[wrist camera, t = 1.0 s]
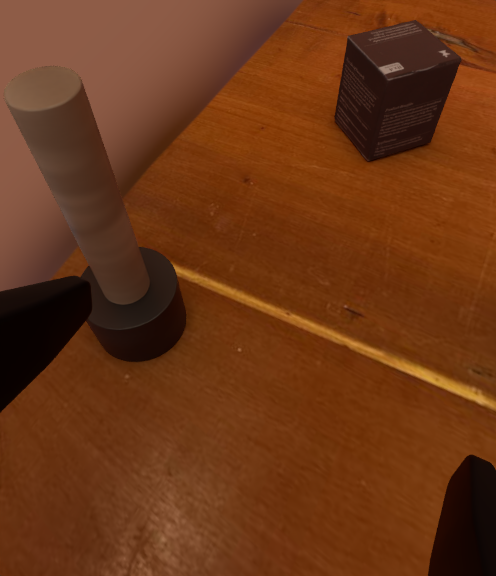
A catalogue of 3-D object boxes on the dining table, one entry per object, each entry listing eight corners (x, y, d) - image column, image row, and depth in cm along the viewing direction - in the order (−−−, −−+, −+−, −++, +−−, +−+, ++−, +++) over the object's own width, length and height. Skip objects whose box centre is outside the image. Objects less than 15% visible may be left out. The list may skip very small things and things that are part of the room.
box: (393, 104, 41) (417, 17, 35) (431, 145, 38) (465, 58, 31) (332, 120, 40) (345, 34, 34) (366, 164, 36) (387, 77, 30)
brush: (133, 380, 27) (8, 166, 13) (79, 321, 29) (-74, 88, 16) (204, 320, 29) (158, 84, 15) (149, 270, 31) (67, 26, 18)
